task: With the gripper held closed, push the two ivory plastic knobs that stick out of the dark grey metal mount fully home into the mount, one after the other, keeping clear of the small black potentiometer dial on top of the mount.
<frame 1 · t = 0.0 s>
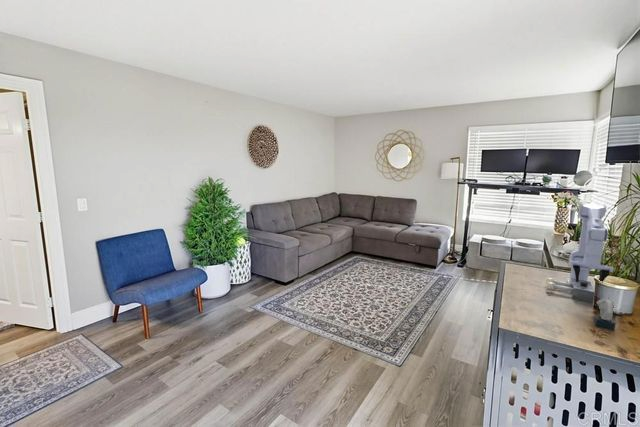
hand: (587, 283, 141), 10 cm above the table, fingers open, 7 cm apart
grey bust statue: (603, 326, 124), on the table
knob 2: (561, 283, 159), point 3 cm above the table, slide at 5.0 cm
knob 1: (561, 288, 153), point 3 cm above the table, slide at 5.0 cm
mount: (580, 295, 152), on the table
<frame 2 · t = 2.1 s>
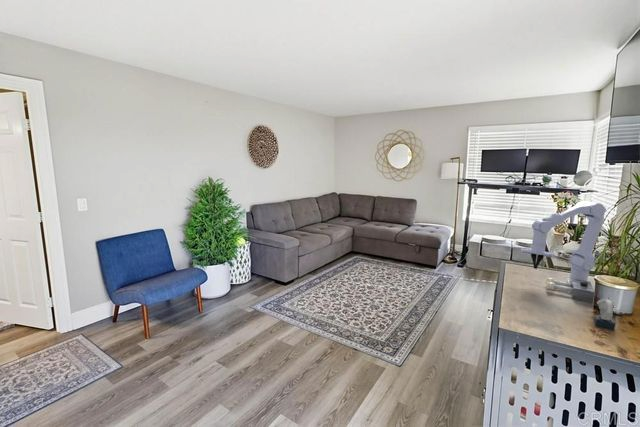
hand: (535, 268, 164), 9 cm above the table, fingers closed
nothing on the table moved.
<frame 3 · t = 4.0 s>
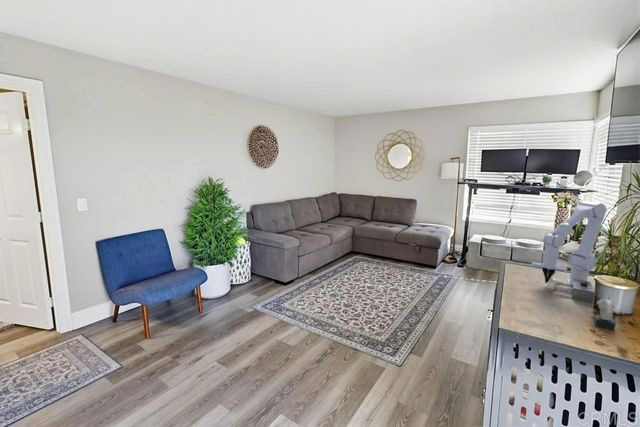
hand: (546, 282, 162), 2 cm above the table, fingers closed
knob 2: (564, 284, 158), point 3 cm above the table, slide at 3.5 cm, touching gripper
everything else where it was.
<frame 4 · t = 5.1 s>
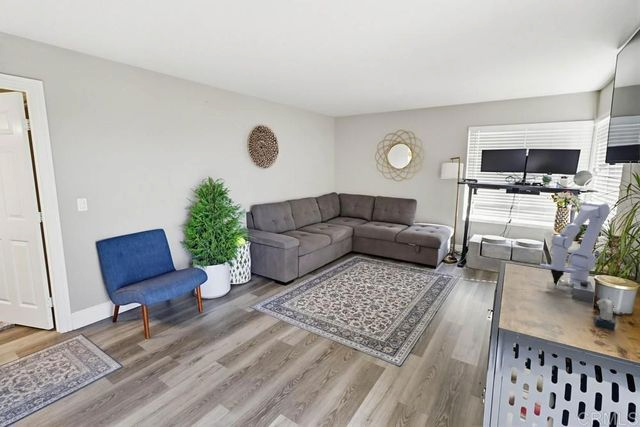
hand: (555, 284, 160), 2 cm above the table, fingers closed
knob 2: (573, 285, 156), point 3 cm above the table, slide at 0.0 cm, touching gripper
everything else where it was.
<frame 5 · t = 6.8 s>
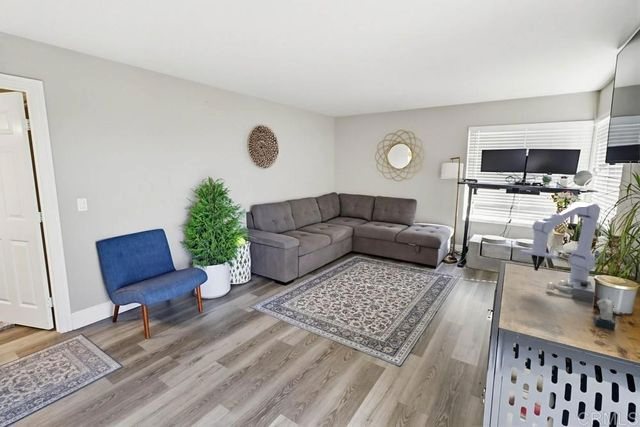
hand: (536, 270, 158), 10 cm above the table, fingers closed
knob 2: (573, 285, 156), point 3 cm above the table, slide at 0.0 cm
everything else where it was.
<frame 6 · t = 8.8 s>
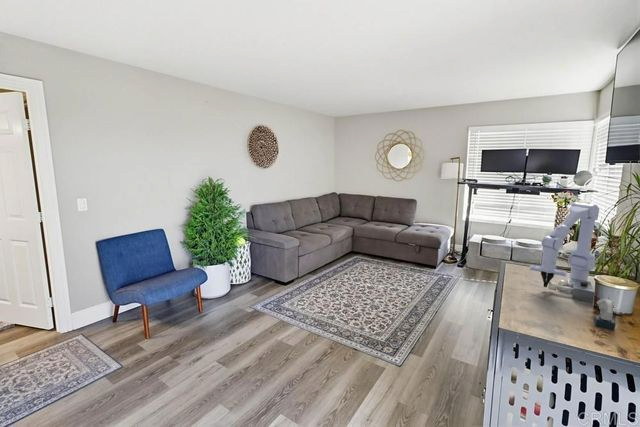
hand: (545, 286, 157), 2 cm above the table, fingers closed
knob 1: (564, 288, 152), point 3 cm above the table, slide at 4.2 cm, touching gripper
everything else where it was.
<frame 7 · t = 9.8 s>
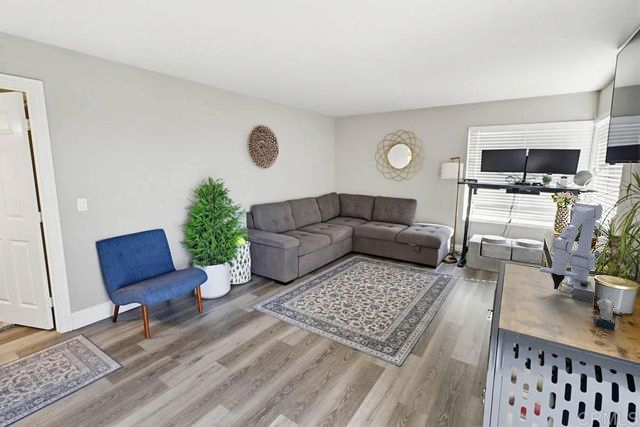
hand: (555, 288, 154), 2 cm above the table, fingers closed
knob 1: (575, 290, 150), point 3 cm above the table, slide at 0.0 cm, touching gripper
everything else where it was.
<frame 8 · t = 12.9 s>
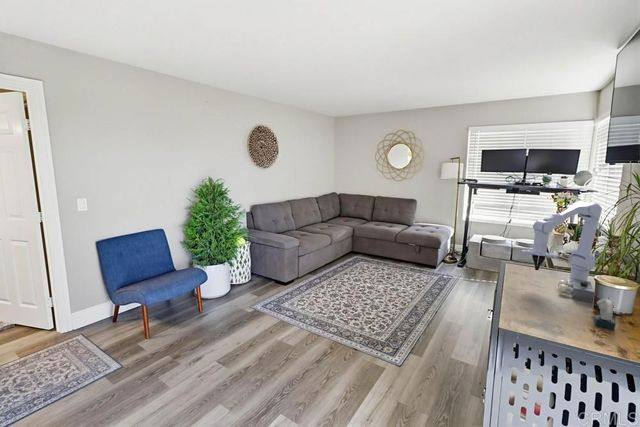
hand: (536, 269, 159), 9 cm above the table, fingers closed
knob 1: (575, 290, 150), point 3 cm above the table, slide at 0.0 cm
everything else where it was.
at the end: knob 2 slide at 0.0 cm; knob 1 slide at 0.0 cm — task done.
